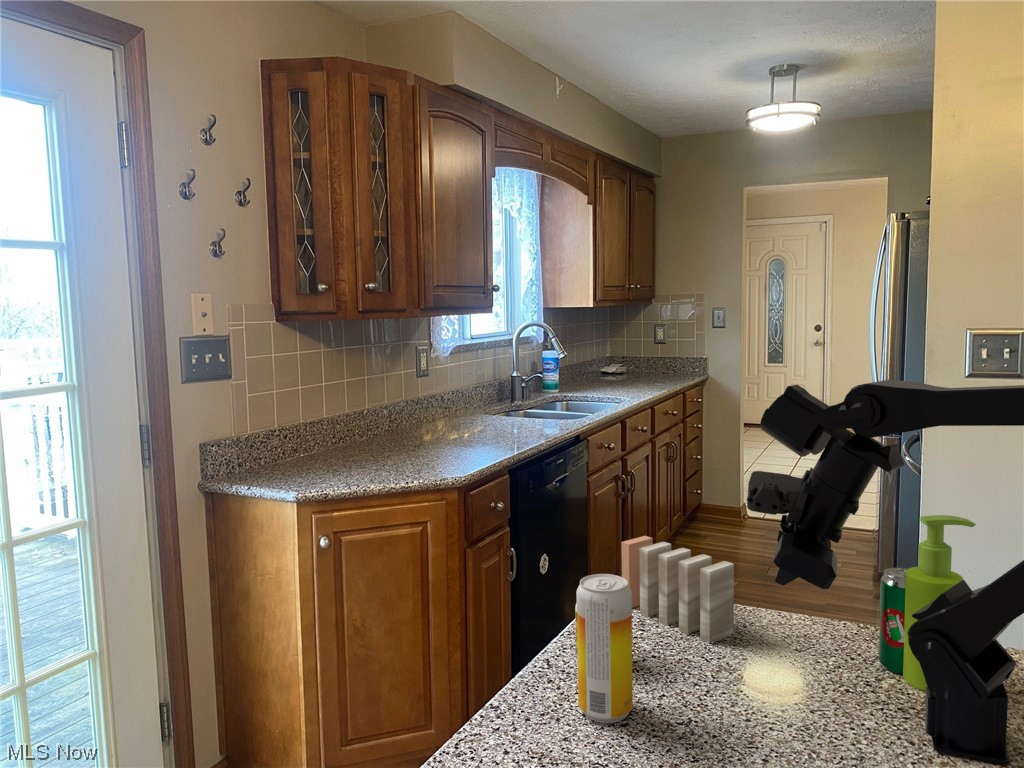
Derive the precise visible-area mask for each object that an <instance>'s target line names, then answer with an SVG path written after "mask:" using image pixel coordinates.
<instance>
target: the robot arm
mask: <svg viewBox="0 0 1024 768" xmlns="http://www.w3.org/2000/svg"><path fill="white" fill-rule="evenodd" d="M844 397H845V398H844V400H843V401H842V402H839V403H836V404H832V405H828V404H827V403H825V402H824V401H822V400H820V398H819V399H818V397H815V396H814V395H812V394H811V393H809V391H808V390H807V389H805V388H804V387H802V386H801V385H799V384H792V385H787V386H786V388H785V390H784V392H783V393H782V394H780V395H779V396H778V397H777V398H776V399H775V400H774V401H772V403H771V404H770V406H769V407H768V408H766V409H765V411H764V412H763V414H762V416H761V419H760V421H759V422H760V424H759V427H760V430H761V431H762V432H763V433H766V434H767V435H768V436H770V437H771V438H773V439H774V440H776V441H778V442H779V444H782V445H783V446H785V447H786V448H787V449H789V450H791V451H792V452H793V453H795V454H796V455H798V456H800V457H802V458H804V457H806V456H808V455H810V454H811V455H813V456H815V455H816V456H817V455H818V454H820V453H821V452H822V453H821V454H820V456H819V458H818V460H817V461H816V463H815V465H814V467H813V468H812V467H810V468H809V469H806V471H805V472H804V473H803V475H802V477H798V476H793V475H790V474H786V473H780V472H779V473H778V472H777V473H776V472H770V471H764V470H754V471H752V473H751V475H750V477H749V481H748V485H747V486H748V487H747V496H746V501H747V502H746V508H747V509H748V510H749V511H752V512H755V513H761V514H768V515H773V516H774V515H775V516H776V515H778V514H779V515H782V516H781V519H780V526H779V527H780V528H781V530H778V534H777V545H776V547H775V550H774V556H773V560H772V562H773V564H774V565H775V566H776V567H777V571H776V575H775V580H774V582H775V584H778V585H780V586H786V585H787V584H789V583H791V582H793V581H794V580H797V579H799V578H800V579H801V580H803V581H805V582H807V583H809V584H812V585H813V586H815V587H818V588H819V589H822V590H829V589H830V587H831V586H832V584H833V583H834V582H835V581H834V580H835V579H836V578H837V575H838V574H837V573H838V559H837V556H836V554H835V552H834V550H833V549H832V542H834V543H836V544H839V542H840V540H841V539H842V537H843V535H842V533H843V532H842V531H843V527H844V525H845V524H846V523H847V521H848V520H849V519H848V518H849V517H850V515H851V514H852V515H853V516H855V515H856V514H857V512H858V510H859V509H860V500H861V499H860V498H861V497H862V495H863V494H864V492H865V490H866V488H867V487H868V486H869V483H870V481H871V480H872V478H873V477H874V475H875V474H876V472H877V470H878V469H879V468H880V469H882V470H883V471H885V472H887V473H890V472H893V471H896V470H898V469H903V467H905V461H904V460H903V456H902V455H901V453H900V452H899V444H898V443H896V442H895V443H892V444H883V443H881V442H880V441H878V440H877V439H875V438H879V437H885V436H891V435H896V434H897V435H898V434H902V433H908V432H914V431H919V430H924V429H927V428H935V427H960V426H961V427H972V426H973V427H982V426H983V427H984V426H985V427H986V426H987V427H988V426H989V427H991V426H992V427H993V426H994V427H995V426H997V427H1001V426H1002V427H1003V426H1004V427H1005V426H1009V427H1011V426H1012V427H1017V426H1021V427H1023V426H1024V384H1017V385H995V386H994V385H993V386H970V387H969V386H967V387H944V386H938V385H932V384H928V383H923V382H915V381H906V380H900V379H899V380H897V379H886V380H879V381H872V382H868V383H862V384H858V385H855V386H854V387H852V388H851V389H850V390H849V391H848V392H847V393H846V395H845V396H844ZM848 429H850V430H848ZM851 430H852V431H853V432H852V431H851ZM831 541H832V542H831ZM1023 614H1024V559H1023V560H1021V561H1020V562H1019V563H1017V564H1016V565H1014V566H1013V567H1011V568H1010V569H1009V570H1007V571H1006V572H1005V573H1003V574H1002V575H1001V576H999V577H997V578H996V579H995V580H994V581H992V582H991V583H990V584H986V585H985V586H982V587H979V588H977V589H973V590H972V589H971V587H970V586H969V585H968V583H967V582H966V581H965V579H963V580H962V581H960V582H959V583H957V584H956V585H954V586H953V587H951V588H950V589H948V590H947V591H945V592H944V593H942V594H941V595H940V596H939V597H938V598H936V599H935V600H933V601H932V602H930V603H929V604H927V605H926V606H924V607H923V608H921V609H920V610H918V611H917V612H915V613H914V614H912V617H913V618H915V619H917V621H916V622H915V623H913V624H912V626H911V627H910V628H909V630H908V633H907V634H908V643H909V646H910V649H911V652H912V653H913V655H914V656H915V658H916V659H917V660H918V661H919V663H920V666H921V669H922V672H923V674H924V677H925V680H926V683H927V686H928V687H926V691H925V711H924V713H925V714H924V715H925V716H924V720H925V721H924V724H925V730H926V734H927V736H929V737H931V742H932V749H933V750H934V751H935V752H938V753H943V754H948V755H953V756H958V757H963V758H968V759H972V760H973V759H974V760H979V761H984V762H989V763H993V764H999V765H1003V766H1009V765H1010V764H1011V758H1010V755H1009V752H1008V749H1007V739H1008V738H1007V736H1008V735H1007V734H1008V733H1007V732H1008V709H1009V695H1008V693H1007V690H1006V688H1005V685H1004V682H1005V681H1008V680H1009V679H1010V677H1011V675H1012V673H1013V672H1014V670H1015V668H1016V667H1017V661H1016V660H1015V659H1014V658H1013V657H1012V656H1011V654H1010V653H1009V652H1008V651H1007V650H1006V649H1005V648H1004V647H1003V645H1002V644H1001V643H1000V642H999V641H998V638H999V637H1000V636H1001V635H1002V634H1003V632H1004V631H1005V630H1006V629H1007V628H1008V627H1009V626H1010V625H1011V623H1012V622H1013V621H1014V620H1016V619H1017V618H1019V617H1021V616H1022V615H1023Z"/></svg>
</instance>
